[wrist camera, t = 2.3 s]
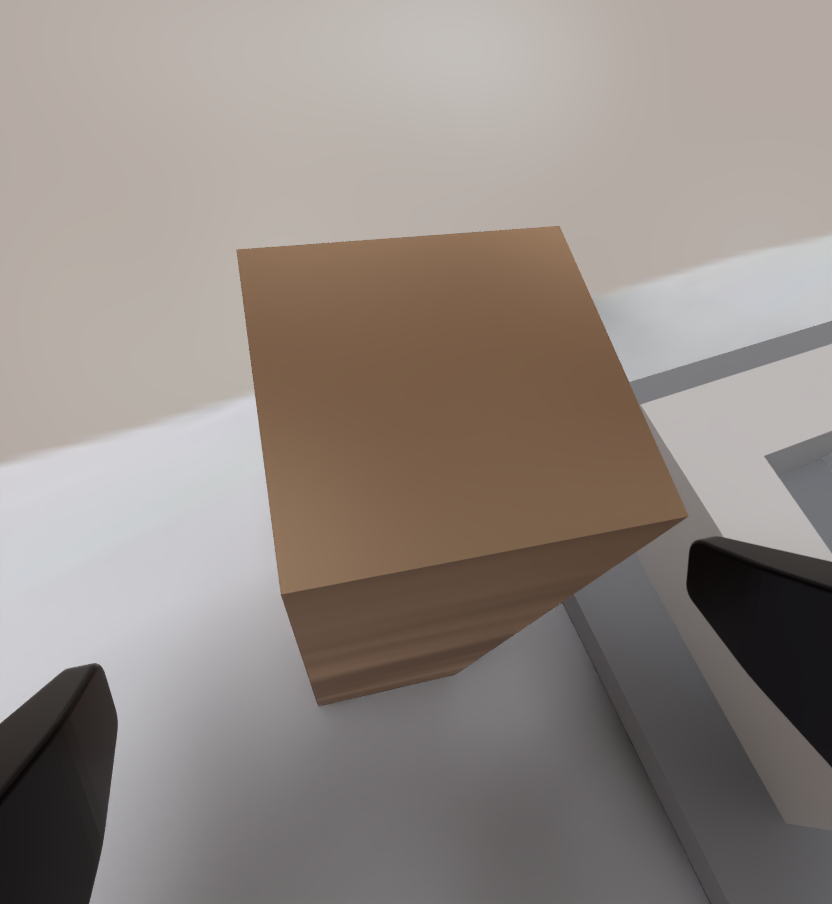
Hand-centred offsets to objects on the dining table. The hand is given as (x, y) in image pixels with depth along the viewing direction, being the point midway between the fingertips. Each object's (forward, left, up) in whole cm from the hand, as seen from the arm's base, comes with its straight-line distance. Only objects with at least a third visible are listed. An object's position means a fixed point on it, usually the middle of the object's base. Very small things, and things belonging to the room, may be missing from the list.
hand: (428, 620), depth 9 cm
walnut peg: (+1, -1, -9) cm, 9 cm away
